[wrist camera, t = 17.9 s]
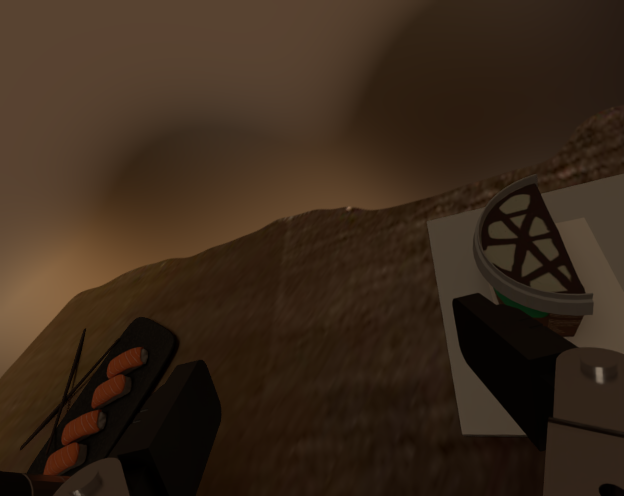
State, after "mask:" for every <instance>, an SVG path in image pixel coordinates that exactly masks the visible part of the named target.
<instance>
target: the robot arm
mask: <svg viewBox="0 0 624 496" xmlns="http://www.w3.org/2000/svg"><path fill="white" fill-rule="evenodd" d="M452 307H453V313H454V319H455V325H456V330H457V336H458V342H459V347H460V350H461V353H462V355H463V358H464V360H465V361H466V363H467V364H468V366H469V367H470V368H471V369H472V371H473V372H474V373H475V374H476V375H477V377H478V378H479V379H480V380H481V381H482V383H483V384H484V385H485V386H486V387H487V389H488V390H489V391H490V392H491V393H492V395H493V396H494V397H495V398H496V399H497V400H498V402H499V403H500V404H501V405H502V406H503V408H504V409H505V410H506V411H507V412H508V414H509V415H510V416H511V417H512V418H513V420H514V421H515V422H516V423H517V424H518V426H519V427H520V428H521V429H522V430H523V432H524V433H525V434H526V435H527V436H528V438H529V439H530V440H531V441H532V442H533V444H534V445H535V446H536V447H537V448H538V450H539V451H544V450H546V458H545V474H544V489H543V496H624V354H622V353H620V352H617V351H613V350H609V349H604V348H596V347H580V348H579V347H578V346H576V345H574V344H573V343H571V342H570V341H568V340H567V339H565V338H564V337H562V336H560V335H559V334H557V333H556V332H554V331H553V330H551V329H550V328H548V327H547V326H543V324H542V323H540V322H539V321H537V320H536V319H532V317H531V316H529V315H528V314H526V313H525V312H523V311H522V310H520V309H518V308H514V307H511V306H508V305H504V304H498V305H496V304H494V303H493V302H491V301H490V300H489V299H487V298H486V297H484V296H483V295H482V294H480V293H474V294H470V295H466V296H462V297H458V298H454V299H453V301H452ZM220 422H221V405H220V401H219V398H218V395H217V392H216V390H215V387H214V384H213V381H212V379H211V376H210V373H209V370H208V368H207V365H206V363H205V362H204V361H203V360H197V361H193V362H189V363H185V364H181V365H178V366H176V368H175V369H174V371H173V372H172V374H171V375H170V377H169V378H168V380H167V381H166V383H165V384H164V385H162V386H161V387H160V388H159V389H158V390H157V391H156V392H154V393H153V394H152V395H151V396H150V397H149V398H148V399H147V401H146V402H145V404H144V405H143V407H142V408H141V410H140V413H138V414H137V415H136V417H135V418H134V420H133V423H132V424H130V425H129V427H128V428H127V430H126V431H125V433H124V434H123V435H122V437H121V438H120V440H119V441H118V443H117V444H116V445H115V447H114V448H113V450H112V451H111V453H110V454H109V456H108V457H107V458H105V459H101V460H98V461H96V462H94V463H91V464H89V465H88V466H86V467H84V468H83V469H81V470H79V471H78V472H77V473H75V474H74V475H73V476H71V477H70V476H54V475H40V474H27V473H14V472H3V471H0V496H195V495H196V492H197V490H198V487H199V484H200V481H201V478H202V475H203V472H204V469H205V466H206V463H207V460H208V457H209V454H210V452H211V449H212V446H213V443H214V440H215V437H216V434H217V431H218V428H219V425H220Z"/></svg>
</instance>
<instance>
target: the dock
mask: <svg viewBox="0 0 624 496" xmlns="http://www.w3.org/2000/svg"><path fill="white" fill-rule="evenodd" d="M541 196H542V198H543V200H544V203H545V205H546V207H547V209H548V211H549V213H550V215H551V217H552V219H553V221H554V223H555V225H556V227H557V229H558V231H559V233H560V236H561V238H562V241H563V243H564V245H565V248H566V250H567V253H568V255H569V257H570V260H571V262H572V264H573V266H574V269H575V271H576V273H577V276H578V278H579V280H580V282H581V284H582V285H583V287H584V289H585V292H586V293H593V298H592V300H593V302H594V306H593V315H584V317H583V319H582V321H581V323H580V325H579V327H578V329H577V331H576V333H575V336H574V337H564V338H565V339H567V340H568V341H570V342H571V343H573V344H574V345H576V346H578V347H579V348H580V347H596V348H604V349H609V350H613V351H617V352H620V353H622V354H624V174H621V175H617V176H613V177H609V178H605V179H600V180H596V181H592V182H588V183H584V184H580V185H576V186H572V187H567V188H563V189H559V190H555V191H551V192H547V193H543V194H541ZM483 210H484V208H481V209H477V210H473V211H468V212H464V213H460V214H456V215H452V216H448V217H444V218H440V219H435V220H431V221H427V225H428V231H429V237H430V243H431V249H432V255H433V261H434V267H435V273H436V279H437V285H438V291H439V297H440V303H441V309H442V315H443V321H444V327H445V333H446V339H447V345H448V351H449V357H450V363H451V369H452V375H453V381H454V387H455V393H456V399H457V405H458V411H459V417H460V423H461V429H462V435H463V436H493V437H528V436H527V435H526V434H525V433H524V432H523V430H522V429H521V428H520V427H519V426H518V424H517V423H516V422H515V421H514V420H513V418H512V417H511V416H510V415H509V414H508V412H507V411H506V410H505V409H504V408H503V406H502V405H501V404H500V403H499V402H498V400H497V399H496V398H495V397H494V396H493V395H492V393H491V392H490V391H489V390H488V389H487V387H486V386H485V385H484V384H483V383H482V381H481V380H480V379H479V378H478V377H477V375H476V374H475V373H474V372H473V371H472V369H471V368H470V367H469V366H468V364H467V363H466V361H465V360H464V358H463V355H462V353H461V350H460V347H459V342H458V336H457V330H456V325H455V319H454V313H453V307H452V301H453V299H454V298H458V297H462V296H466V295H470V294H474V293H480V294H482V295H483V296H484V297H486V298H487V299H489V300H490V301H491V302H493V303H494V304H496V305H498V304H499V303H498V300H497V297H496V295H495V292H494V289H493V287H492V286H491V285H490V284H489V283H488V282H487V280H486V279H485V278H484V277H483V276H482V274H481V272H480V271H479V269H478V267H477V265H476V262H475V259H474V254H473V238H474V233H475V228H476V225H477V221H478V219H479V217H480V215H481V213H482V212H483Z"/></svg>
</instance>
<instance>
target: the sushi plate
mask: <svg viewBox="0 0 624 496" xmlns="http://www.w3.org/2000/svg"><path fill="white" fill-rule="evenodd" d="M85 332H86V329H84V331H83V334H82V337H81V340H80V343H79V346H78V350H77V353H76V356H75V359H74V363H73V366H72V369H71V373H70V376H69V380H68V383H67V386H66V389H65V392H64V396H63V399H62V402H61V403H60V404H59V405H58V406H57V407H56V408H55V410H54V411H53V412H52V413H51V414H50V415H49V416H48V417H47V418H46V420H45V421H44V422H43V423H42V424H41V425H40V426H39V427H38V428H37V430H36V431H35V432H34V433H33V434H32V435H31V436H30V437H29V438H28V440H27V441H26V442H25V443H24V444H23V445H22V446H21V448H20V450H22V449H23V448H24V447H25V446H26V445H27V444H28V443H29V442H30V441H31V440H32V439H33V438H34V437H35V435H36V434H37V433H38V432H39V431H40V430H41V429H42V428H43V427H44V426H45V425H46V424H47V423H48V422H49V421H50V420H51V419H52V418H53V416H54V415H55V414H56V413H57V412H58V410H59V412H58V415H57V418H56V421H55V424H54V427H53V431H52V434H51V437H50V438H49V440H48V441H47V442H46V444H45V445H44V447H43V448H42V450H41V451H40V453H39V454H38V456H37V457H36V459H35V460H34V462H33V463H32V465H31V466H30V468H29V470H28V472H27V474H40V475H54V476H70V477H71V476H73V475H74V474H75V473H77V472H78V471H79V470H81V469H83V468H84V467H86V466H88V465H89V464H91V463H94V462H96V461H98V460H101V459H105V458H107V457H108V455H109V454H110V452H111V450H112V449H113V447H114V446H115V444H116V442H117V441H118V439H119V438H120V436H121V434H122V433H123V431H124V430H125V428H126V427H127V425H128V423H129V422H130V420H131V419H132V417H133V415H134V414H135V412H136V411H137V409H138V407H139V406H140V404H141V403H142V401H143V399H144V398H145V396H146V395H147V393H148V391H149V390H150V388H151V387H152V385H153V384H154V382H155V380H156V379H157V377H158V375H159V374H160V372H161V371H162V369H163V367H164V366H165V364H166V362H167V361H168V359H169V357H170V355H171V353H172V351H173V349H174V346H175V338H174V335H173V334H172V333H171V332H170V331H168V330H167V329H166V328H164V327H162V326H161V325H159V324H157V323H156V322H154V321H152V320H150V319H148V318H145V317H139V318H136V319H135V320H134V321H133V322H132V323H131V324H130V325H129V326H128V327H127V329H126V330H125V331H124V333H123V334H122V335H121V337H120V338H118V339H117V340H116V342H115V343H114V344H113V345H112V346H111V347H110V348H109V349H108V351H107V352H106V353H105V354H104V355H103V356H102V357H101V358H100V359H99V361H98V362H97V363H96V364H95V365H94V366H93V367H92V368H91V370H90V371H89V372H88V373H87V374H86V375H85V376H84V377H83V379H82V380H81V381H80V382H79V383H78V384H77V385H76V386H75V388H74V389H73V390H72V391H71V392H70V393H69V394H68V395H67V393H68V390H69V387H70V384H71V381H72V378H73V375H74V372H75V369H76V366H77V363H78V360H79V357H80V354H81V351H82V346H83V341H84V337H85ZM111 349H112V350H111ZM110 350H111V351H110ZM109 351H110V352H109ZM108 353H109V354H108ZM107 354H108V355H107ZM106 355H107V357H106V358H105V360H104V361H103V362H102V364H101V365H100V367H99V368H98V370H97V371H96V372H95V374H94V375H93V377H92V378H91V380H90V381H89V382H88V384H87V385H86V387H85V388H84V390H83V391H82V392H81V394H80V395H79V397H78V398H77V400H76V401H75V402H74V404H73V405H72V407H71V408H70V410H69V411H68V412H67V414H66V415H65V417H64V418H63V420H62V421H61V422H60V424H59V425H58V427H57V424H58V421H59V418H60V415H61V411H62V408H63V405H64V403H65V402H66V401H67V400H68V399H69V398H70V396H71V395H72V394H73V393H74V392H75V391H76V389H77V388H78V387H79V386H80V385H81V384H82V383H83V381H84V380H85V379H86V378H87V377H88V376H89V374H90V373H91V372H92V371H93V370H94V369H95V368H96V366H97V365H98V364H99V363H100V362H101V361H102V360H103V358H104V357H105V356H106ZM56 427H57V428H56Z"/></svg>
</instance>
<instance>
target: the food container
mask: <svg viewBox="0 0 624 496" xmlns="http://www.w3.org/2000/svg"><path fill="white" fill-rule="evenodd" d="M473 254H474V259H475V262H476V265H477V267H478V269H479V271H480V272H481V274H482V276H483V277H484V278H485V279H486V280H487V282H488V283H489V284H490V285H491V286H492V287H493V289H494V292H495V295H496V297H497V300H498V303H499V304H504V305H508V306H511V307H514V308H518V309H520V310H522V311H523V312H525V313H526V314H528V315H529V316H531V317H532V319H536V320H537V321H539V322H540V323H542V324H543V326H547V327H548V328H550V329H551V330H553V331H554V332H556V333H557V334H559V335H560V336H562V337H574V336H575V333H576V331H577V329H578V327H579V325H580V323H581V321H582V319H583V317H584V315H593V306H594V302H593V300H592V298H593V293H586V292H585V289H584V287H583V285H582V284H581V282H580V280H579V278H578V276H577V273H576V271H575V269H574V266H573V264H572V262H571V260H570V257H569V255H568V253H567V250H566V248H565V245H564V243H563V241H562V238H561V236H560V233H559V231H558V229H557V227H556V225H555V223H554V221H553V219H552V217H551V215H550V213H549V211H548V209H547V207H546V205H545V203H544V200H543V198H542V196H541V194H540V192H539V190H538V185H537V174H535V175H532V176H529V177H526V178H523V179H521V180H519V181H516V182H514V183H513V184H511V185H509V186H507V187H506V188H504V189H503V190H502V191H500V192H499V193H498V194H496V195H495V196H494V197H493V198H492V199H491V200H490V201H489V203H488V204H487V206H486V207H485V208H484V210H483V212H482V213H481V215H480V217H479V219H478V221H477V225H476V228H475V233H474V238H473Z"/></svg>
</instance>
